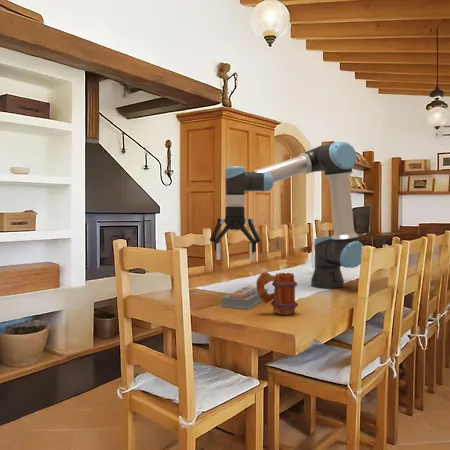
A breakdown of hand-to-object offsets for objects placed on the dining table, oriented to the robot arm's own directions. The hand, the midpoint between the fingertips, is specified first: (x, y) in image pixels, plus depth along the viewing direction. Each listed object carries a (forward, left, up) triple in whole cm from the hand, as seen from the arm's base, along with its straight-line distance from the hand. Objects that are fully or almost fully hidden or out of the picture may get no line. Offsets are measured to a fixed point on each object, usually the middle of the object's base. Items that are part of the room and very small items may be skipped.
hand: (234, 260), depth 180 cm
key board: (-4, -2, -17) cm, 17 cm away
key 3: (-4, +5, -14) cm, 15 cm away
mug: (-21, +11, -17) cm, 29 cm away
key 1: (-4, -8, -14) cm, 17 cm away
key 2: (-4, -2, -14) cm, 15 cm away
